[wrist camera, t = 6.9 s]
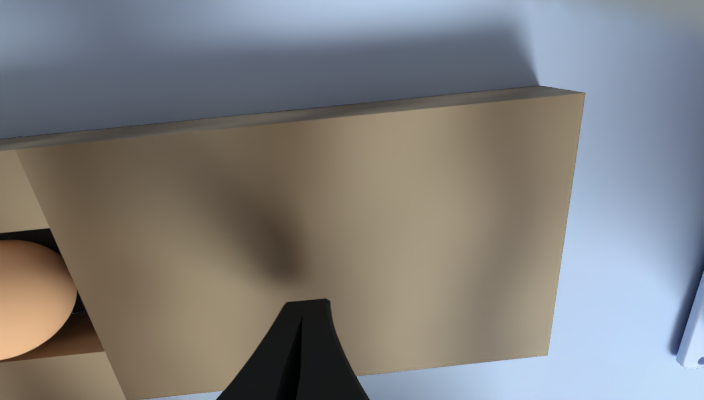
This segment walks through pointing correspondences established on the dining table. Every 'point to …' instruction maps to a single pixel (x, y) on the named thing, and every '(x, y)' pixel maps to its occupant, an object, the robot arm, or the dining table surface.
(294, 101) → the dining table surface
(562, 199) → the deck
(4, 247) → the ball
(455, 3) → the dining table surface
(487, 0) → the dining table surface
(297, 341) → the robot arm
